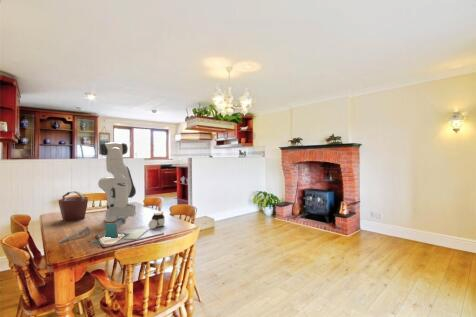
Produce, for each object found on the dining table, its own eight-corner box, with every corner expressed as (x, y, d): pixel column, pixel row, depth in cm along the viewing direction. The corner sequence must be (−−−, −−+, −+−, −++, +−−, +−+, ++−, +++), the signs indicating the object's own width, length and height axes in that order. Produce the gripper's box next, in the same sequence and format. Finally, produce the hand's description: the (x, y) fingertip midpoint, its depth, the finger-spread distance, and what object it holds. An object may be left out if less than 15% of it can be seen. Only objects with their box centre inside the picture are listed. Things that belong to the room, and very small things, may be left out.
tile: (106, 237, 168) (106, 223, 168) (117, 237, 168) (117, 223, 168) (105, 237, 167) (105, 223, 167) (116, 238, 167) (116, 223, 167)
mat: (107, 233, 177) (107, 233, 177) (128, 233, 177) (128, 233, 177) (88, 245, 155) (88, 244, 155) (113, 245, 155) (113, 244, 155)
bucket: (55, 219, 217) (55, 192, 216) (82, 214, 235) (82, 189, 234) (66, 223, 203) (66, 194, 202) (94, 218, 221) (93, 191, 220)
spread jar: (165, 224, 200) (165, 211, 200) (163, 228, 189) (163, 214, 189) (150, 225, 198) (150, 211, 198) (147, 229, 187) (147, 215, 187)
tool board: (136, 230, 184) (136, 229, 184) (147, 230, 184) (147, 229, 184) (123, 240, 164) (123, 238, 164) (136, 240, 164) (136, 238, 164)
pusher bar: (121, 223, 185) (121, 216, 185) (125, 223, 185) (125, 216, 185) (111, 229, 169) (110, 222, 169) (115, 229, 169) (115, 222, 169)
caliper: (88, 234, 177) (88, 225, 177) (89, 234, 176) (89, 226, 176) (58, 243, 159) (58, 234, 158) (59, 243, 158) (58, 234, 158)
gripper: (137, 203, 185) (137, 220, 186) (111, 203, 185) (111, 220, 186) (133, 205, 179) (133, 223, 179) (106, 204, 179) (106, 223, 179)
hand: (122, 222), depth 182 cm, fingers closed on pusher bar, 3 cm apart
